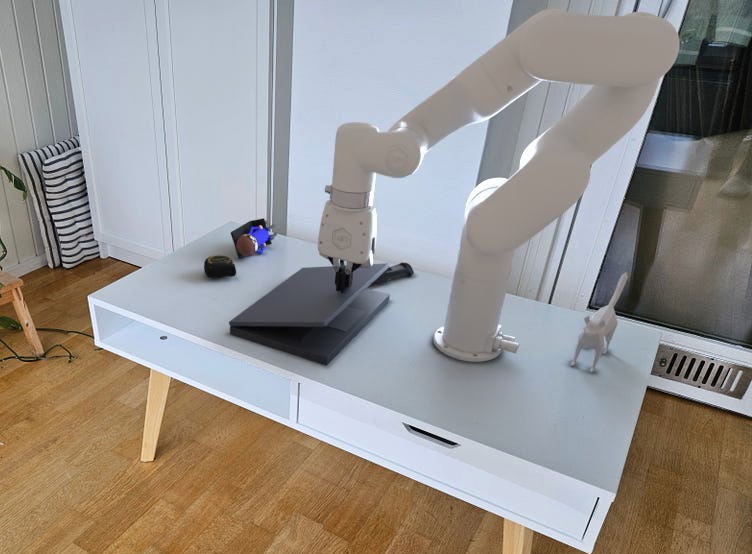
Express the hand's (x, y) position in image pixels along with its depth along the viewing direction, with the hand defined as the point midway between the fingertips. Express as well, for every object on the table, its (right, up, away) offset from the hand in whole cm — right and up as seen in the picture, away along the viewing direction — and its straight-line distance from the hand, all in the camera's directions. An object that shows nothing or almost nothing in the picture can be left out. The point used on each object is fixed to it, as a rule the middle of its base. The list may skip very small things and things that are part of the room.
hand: (342, 289), depth 123 cm
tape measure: (-25, +5, +23) cm, 35 cm away
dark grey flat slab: (-5, -5, +7) cm, 10 cm away
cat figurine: (+46, -13, -4) cm, 48 cm away
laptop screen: (-6, -1, +4) cm, 7 cm away
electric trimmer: (+12, +4, +22) cm, 26 cm away
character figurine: (-18, +13, +35) cm, 41 cm away
